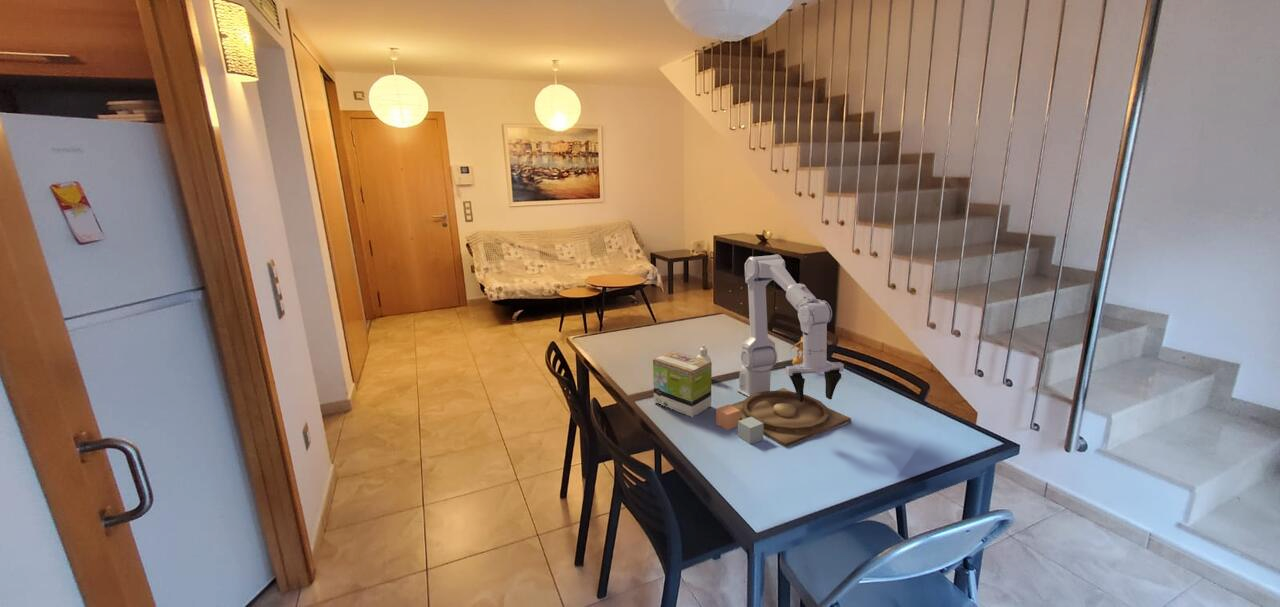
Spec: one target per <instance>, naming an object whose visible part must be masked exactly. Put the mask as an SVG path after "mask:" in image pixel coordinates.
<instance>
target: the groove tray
mask: <svg viewBox="0 0 1280 607" xmlns="http://www.w3.org/2000/svg"><path fill="white" fill-rule="evenodd" d="M803 396H804V399H803V402H800V401H799V400H798V399H797V394H796V391H792V390H789V389H787V388H785V387H783V388H780V389H776V390H770V391H766V392H760V393H757V394H753V395H750V396H749V397H748V396H747V397H746V399H744V400H741V401H738V402H735V403H731V404H730V405H731V406H733V407H735V408H737V409H738V410H740V420H743V419H746V418H749V417H753V418H755V419H756V420H758V421H760V422H762V423H764V424H763V436H765V437H767V438H768V439H770V440H772V441H773V442H776V443H777V444H779V445H781V446H782V447H783V448H787V447H789V446H793V445H795V444H798V443H800V442H803V441H806V440H807V439H810V438H813V437H815V436H818V435H820V434H823V433H825V432H828V431H830V430H833V429H836V428H838V427H841V426H842V425H846V424H849V423H850V422H851V421H852V418H851V417H849V416H847V415H845V414H843V413H840V412H838V411H836V410H834V409H831V408H829V407H828V406H826V405H825V404H824V403H823V402H822V401H821V400H819V399H816V398H814V397H812V396H810V395H807V394H804V393H803Z"/></svg>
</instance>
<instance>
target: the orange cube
mask: <svg viewBox="0 0 1280 607" xmlns="http://www.w3.org/2000/svg"><path fill="white" fill-rule="evenodd" d="M715 412H716V415H715V419H716V420H715V422H716V423H717V424H716V425H718V426H720V427H721V426H722V427H721V428H723V429H724V428H725V429H724V430H726V431H727V430H728V431H729V430H731V429H734V428H738V421H740V410H738V409H737V408H735V407H733V406H731V404H726V405H723V406H720V407H716V411H715Z"/></svg>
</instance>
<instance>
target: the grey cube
mask: <svg viewBox="0 0 1280 607" xmlns="http://www.w3.org/2000/svg"><path fill="white" fill-rule="evenodd" d="M763 424H764V423H762V422H760V421H758V420H756V419H755V418H753V417H749V418H746V419H743V420H740V421H738V426H737V438H739V439H741V440H742V441H744V442H745V443H747V444H749V445H751V444H754V443H757V442H759V441H761V440H763V439H764V435H763Z"/></svg>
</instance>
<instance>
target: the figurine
mask: <svg viewBox="0 0 1280 607" xmlns="http://www.w3.org/2000/svg"><path fill="white" fill-rule="evenodd" d="M796 346H799V347H798V348H797V349H796V350H795V351H796V355H797V356H795V357H794V358H793V359H792V366H793V365H798V364H802V363H803V336H801V337H800V340H799V341H798V342H797V343H795V344H794V345H793V346H792V347H791V348H790V350H789V352H791V351H792V350H793V349H794V348H795V347H796ZM800 352H801V356H800Z"/></svg>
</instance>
